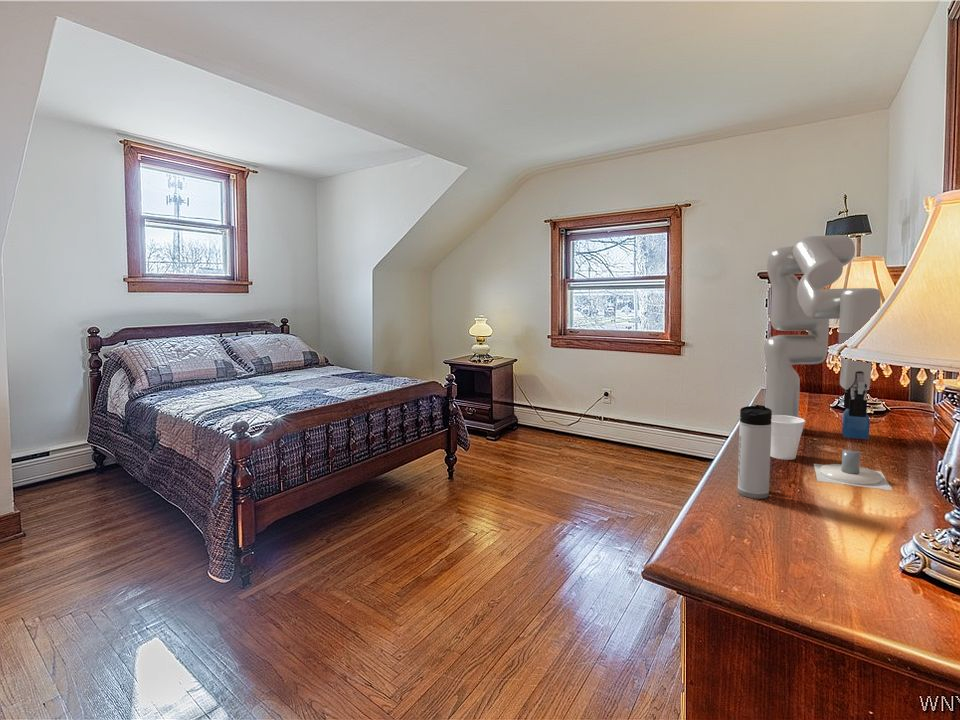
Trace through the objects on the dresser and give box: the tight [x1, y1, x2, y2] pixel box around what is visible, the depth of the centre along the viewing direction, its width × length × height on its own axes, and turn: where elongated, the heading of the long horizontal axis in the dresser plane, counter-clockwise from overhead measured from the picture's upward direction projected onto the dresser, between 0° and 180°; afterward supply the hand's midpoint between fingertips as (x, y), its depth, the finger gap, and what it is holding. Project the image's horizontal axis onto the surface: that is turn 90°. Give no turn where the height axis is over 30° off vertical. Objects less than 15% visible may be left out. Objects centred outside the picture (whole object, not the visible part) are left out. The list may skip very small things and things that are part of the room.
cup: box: [770, 415, 806, 461], centre depth 137 cm, size 10×10×11 cm
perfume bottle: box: [841, 409, 871, 440], centre depth 156 cm, size 6×6×12 cm
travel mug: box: [737, 404, 772, 500], centre depth 112 cm, size 6×7×20 cm
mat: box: [813, 463, 894, 491], centre depth 121 cm, size 14×14×1 cm
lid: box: [820, 449, 882, 485], centre depth 121 cm, size 12×12×6 cm
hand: (854, 412), depth 119 cm, fingers open, 9 cm apart
